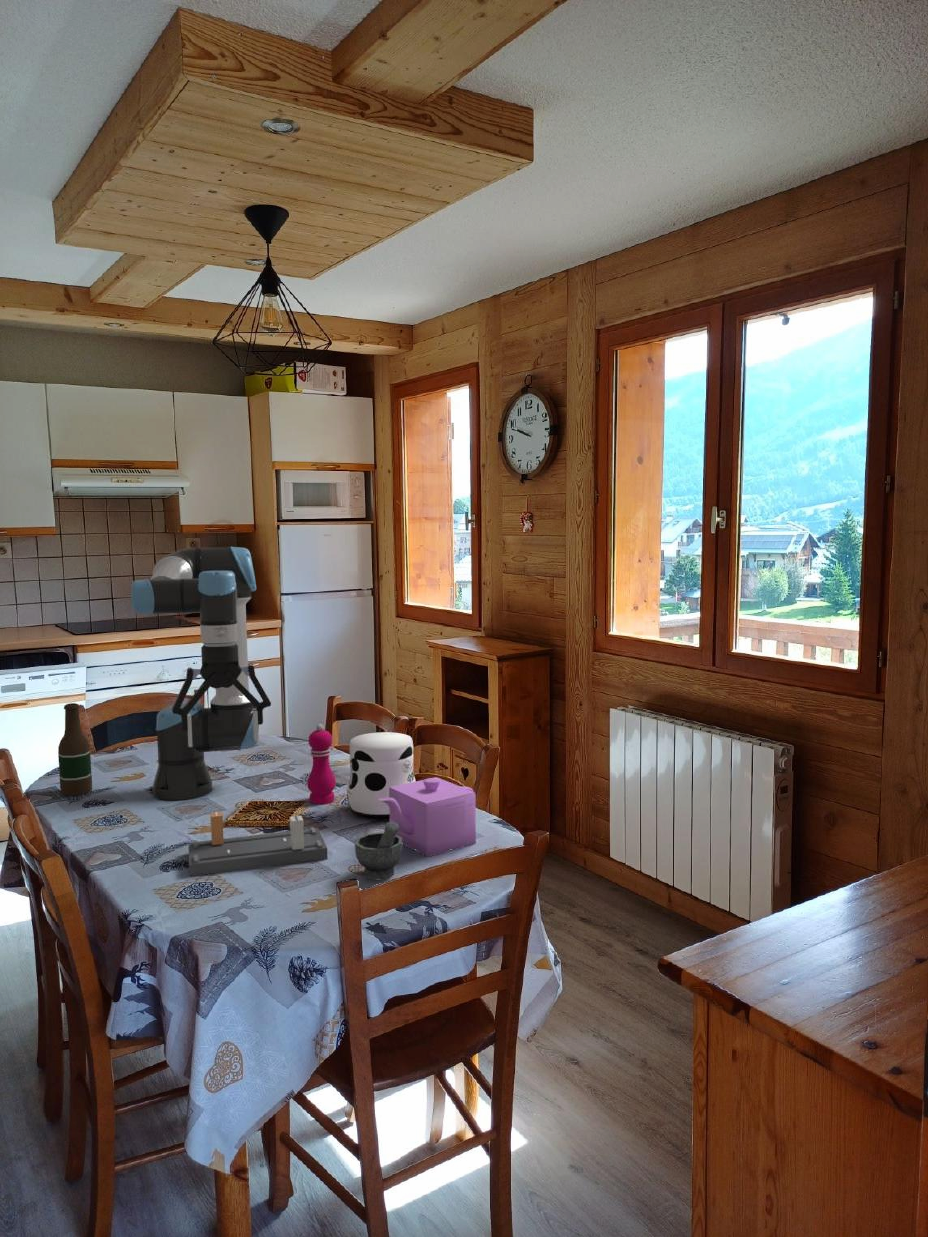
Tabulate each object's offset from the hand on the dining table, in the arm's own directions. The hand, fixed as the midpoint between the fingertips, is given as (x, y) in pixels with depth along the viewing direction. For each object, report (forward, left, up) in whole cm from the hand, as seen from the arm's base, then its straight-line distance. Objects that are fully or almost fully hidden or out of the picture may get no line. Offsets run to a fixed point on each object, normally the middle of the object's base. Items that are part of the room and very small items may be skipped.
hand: (223, 742), depth 190 cm
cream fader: (+8, +14, -22) cm, 27 cm away
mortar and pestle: (+22, +29, -25) cm, 44 cm away
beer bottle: (-59, -36, -25) cm, 73 cm away
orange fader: (0, -2, -22) cm, 22 cm away
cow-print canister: (-17, +38, -25) cm, 48 cm away
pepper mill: (-30, +25, -25) cm, 46 cm away
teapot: (+7, +43, -25) cm, 50 cm away
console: (+4, +6, -24) cm, 25 cm away
